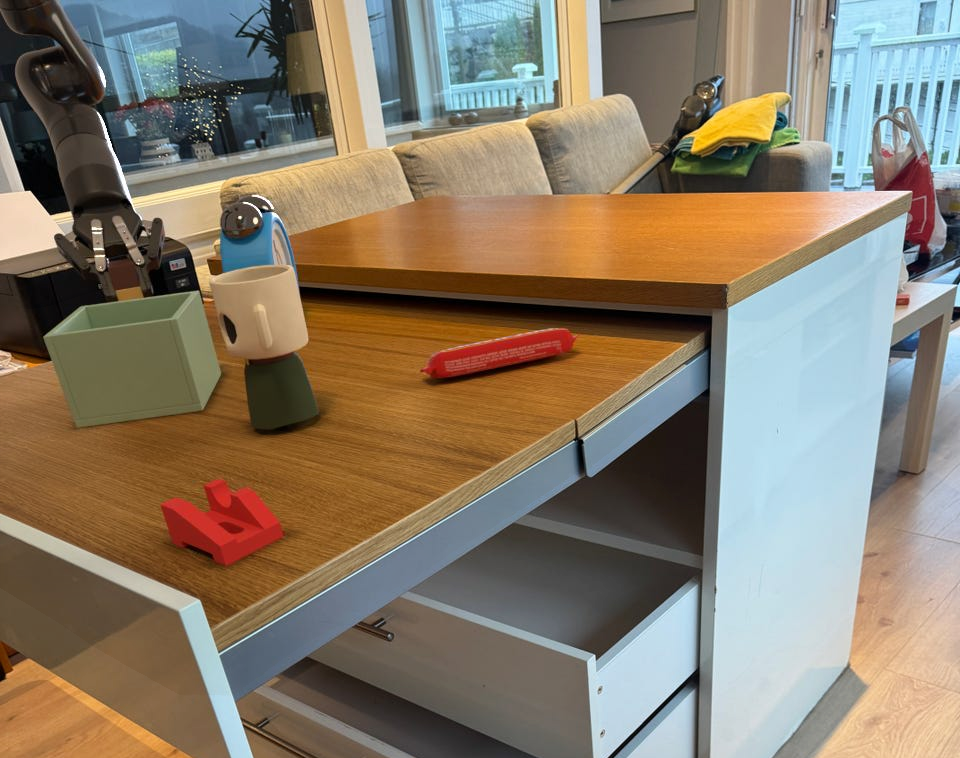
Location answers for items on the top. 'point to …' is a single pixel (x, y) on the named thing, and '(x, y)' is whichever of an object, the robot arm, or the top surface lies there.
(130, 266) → the chocolate carton
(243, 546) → the bracket
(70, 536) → the top surface
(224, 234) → the alarm clock
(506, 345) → the packaged sausage
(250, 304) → the character mug
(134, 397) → the trash bin
